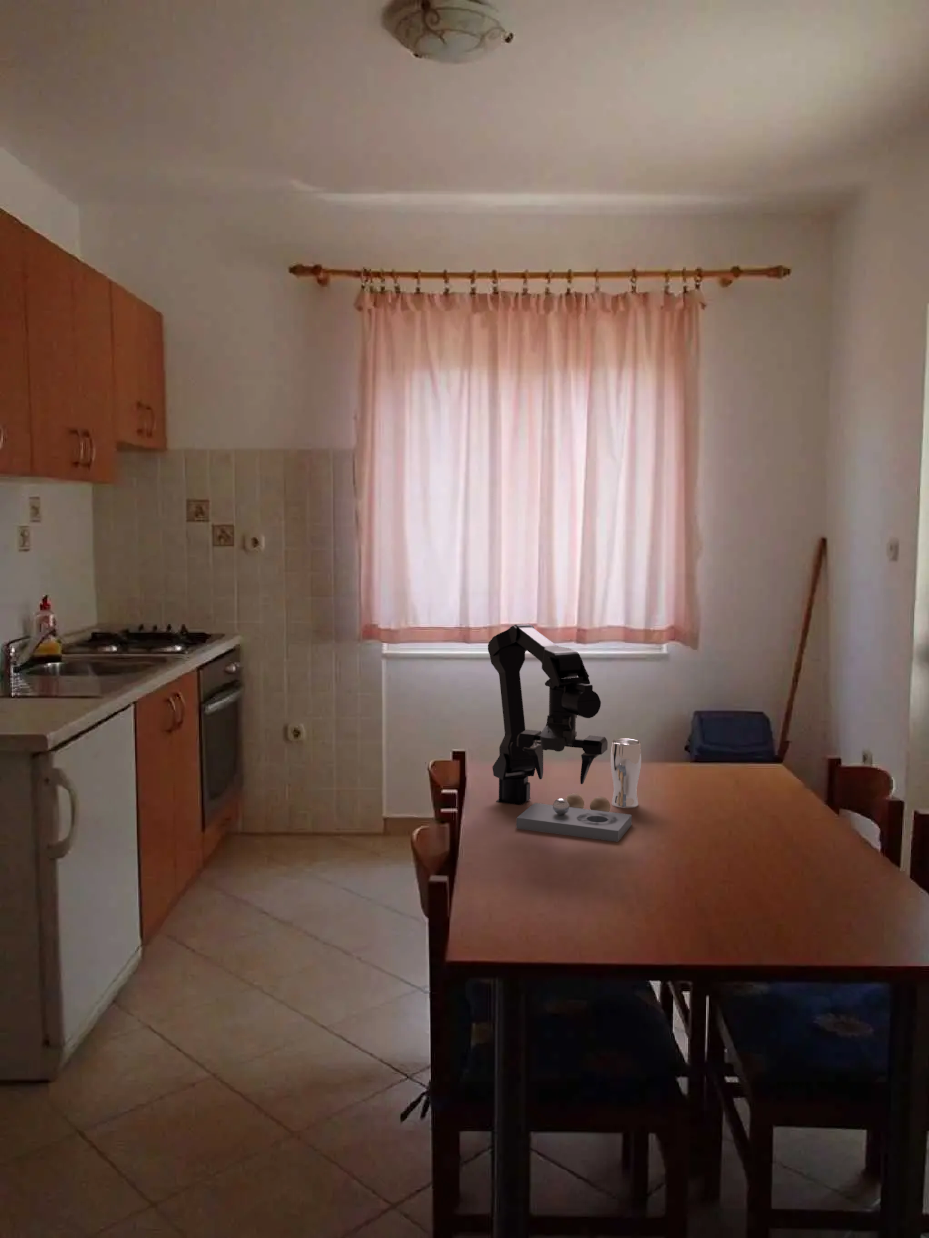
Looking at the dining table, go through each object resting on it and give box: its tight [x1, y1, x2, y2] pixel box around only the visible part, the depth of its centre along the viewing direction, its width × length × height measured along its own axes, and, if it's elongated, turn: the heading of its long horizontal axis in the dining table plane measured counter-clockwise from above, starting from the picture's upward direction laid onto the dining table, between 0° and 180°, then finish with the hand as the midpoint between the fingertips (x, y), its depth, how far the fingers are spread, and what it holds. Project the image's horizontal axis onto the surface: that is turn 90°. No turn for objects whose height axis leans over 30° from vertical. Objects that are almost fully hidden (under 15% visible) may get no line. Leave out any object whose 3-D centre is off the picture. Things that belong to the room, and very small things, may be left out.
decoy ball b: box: [589, 795, 611, 812], centre depth 208 cm, size 4×4×4 cm
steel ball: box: [552, 797, 569, 815], centre depth 201 cm, size 4×4×4 cm
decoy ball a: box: [564, 792, 585, 809], centre depth 210 cm, size 4×4×4 cm
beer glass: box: [610, 738, 642, 809], centre depth 216 cm, size 7×7×15 cm
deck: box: [515, 802, 633, 843], centre depth 200 cm, size 22×12×2 cm, turn 67°
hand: (561, 781), depth 201 cm, fingers open, 9 cm apart
